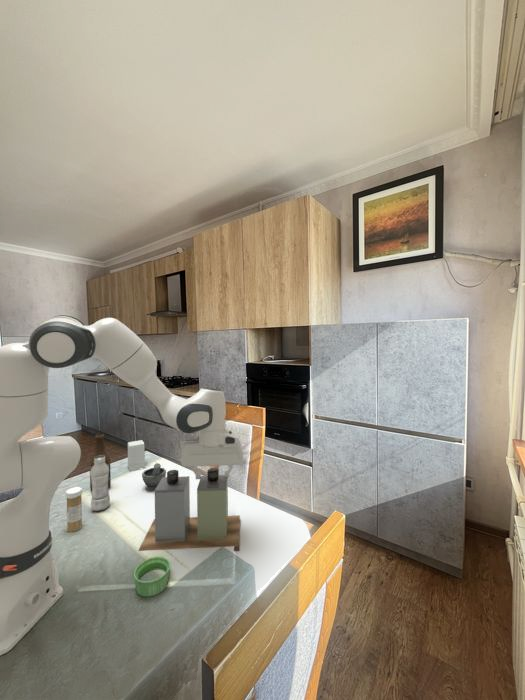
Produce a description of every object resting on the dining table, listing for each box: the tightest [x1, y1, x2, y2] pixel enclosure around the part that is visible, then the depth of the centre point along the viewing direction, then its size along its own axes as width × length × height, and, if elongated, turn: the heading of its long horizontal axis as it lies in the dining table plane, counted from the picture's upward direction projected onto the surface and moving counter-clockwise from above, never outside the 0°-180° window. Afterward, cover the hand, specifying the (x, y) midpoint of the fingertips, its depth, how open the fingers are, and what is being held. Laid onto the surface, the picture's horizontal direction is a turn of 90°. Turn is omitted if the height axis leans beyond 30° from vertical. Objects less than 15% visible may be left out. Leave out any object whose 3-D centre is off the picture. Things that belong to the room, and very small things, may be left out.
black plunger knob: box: [206, 467, 220, 483], centre depth 97 cm, size 7×7×19 cm
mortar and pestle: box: [141, 462, 167, 492], centre depth 130 cm, size 11×9×12 cm
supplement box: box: [127, 439, 146, 472], centre depth 152 cm, size 7×7×13 cm
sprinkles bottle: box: [65, 486, 83, 533], centre depth 101 cm, size 5×5×13 cm
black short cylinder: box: [166, 469, 180, 485], centre depth 97 cm, size 7×7×19 cm
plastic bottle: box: [89, 455, 111, 512], centre depth 114 cm, size 6×7×20 cm
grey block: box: [154, 476, 191, 542], centre depth 97 cm, size 9×9×16 cm
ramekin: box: [133, 555, 171, 598], centre depth 78 cm, size 9×9×4 cm
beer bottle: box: [89, 433, 112, 493], centre depth 128 cm, size 8×8×24 cm
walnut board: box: [138, 515, 241, 552], centre depth 97 cm, size 16×30×2 cm, turn 94°
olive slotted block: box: [196, 474, 229, 540], centre depth 97 cm, size 9×9×16 cm
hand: (212, 478), depth 97 cm, fingers open, 8 cm apart
